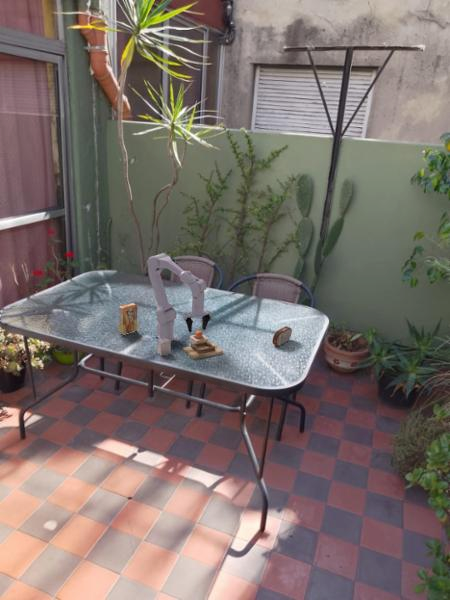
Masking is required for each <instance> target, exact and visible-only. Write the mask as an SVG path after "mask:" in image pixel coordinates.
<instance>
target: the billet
mask: <svg viewBox="0 0 450 600" xmlns="http://www.w3.org/2000/svg"><path fill="white" fill-rule="evenodd" d="M171 342H172V341H170V340H169V339H168V338H165V339H157V354H158V353H159V354H160V355H161V356H160V355H159V354H158V355H159V356H160V357H163V356H162V355H166V356H169V355H168V354H170V355H171V354H172V353H171V352H172V351H171V349H172V348H171V347H172V346H171V345H172V343H171Z"/></svg>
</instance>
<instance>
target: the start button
mask: <svg viewBox="0 0 450 600" xmlns="http://www.w3.org/2000/svg"><path fill="white" fill-rule="evenodd" d="M203 333H204V332H203V330H196V331H195V334H194V335H195V339H197V340H198V339H202V336H203V335H204V334H203Z"/></svg>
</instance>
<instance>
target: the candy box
mask: <svg viewBox="0 0 450 600" xmlns="http://www.w3.org/2000/svg"><path fill="white" fill-rule="evenodd" d="M118 330H119V332H121V333H122V334H126V333H130V332H133V331H136V330H137V331H138V305H137V304H135V303H134V302H132V303H128V304H124V305H120V306H118Z"/></svg>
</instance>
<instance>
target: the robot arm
mask: <svg viewBox="0 0 450 600" xmlns="http://www.w3.org/2000/svg"><path fill="white" fill-rule="evenodd" d="M146 265H147V271H148V272H147V273H148V277H149V280H150V283H151V286H152V290H153V293H154V297H155V300H156V303H157V308H156V310H155V313H156V322H157V323H156V335H158V336H159V338H160V339H165V338H168V339H169V340H170V341H171V342H173V340H174V341H177V340H178V339H177V338H176V337H175V336H174V333H175V332H174V327H175V326H174V325H175V323H174V322H175V320H176V319H177V315H178V313H177V311H176V310H175V308H174V305H173V304H171V303H170V301H169V299H168V296H167V293H166V289H165V286H164V282H163V279H162V276H161V273H162V271H163V270H164V269H167V270H169V271H170V272H172V273H174V274H175V275H176V276H178V277H179V279H180V282H182V283H183V284H185V285H186V286H187V287H189V289H190V292H191V297H192V298H191V300H192V302H191V312H187V313H184V314H182V318H183V319H184V321H185V323H186V326H187V331H188V333H192V331H193V323H194V321H193V320H192V318H193V319H194V318H201V321H202V323H201V325H202V326H201V330H202V331H206V329H207V326H208V324H209V322H210V320H211V318H212V317H211V316H212V315H213V314H212V313H213V311H211V310H205V293H206V292H205V291H206V290H207V288H208V284H207V282H206V281H205V280H204V279H203V278H199V277H198V276H195V275H194V274H193V273H192V272H191V271H190V270H184V269H182V268H181V267H180V266H179V265H178V264H177V263H175V262H174V261H173V260H172V258H171V256H170V255H168V254H167V253H165V252H163V253H159V254H157V255H151V256H150V257H149V258H148V259H147V261H146Z"/></svg>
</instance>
